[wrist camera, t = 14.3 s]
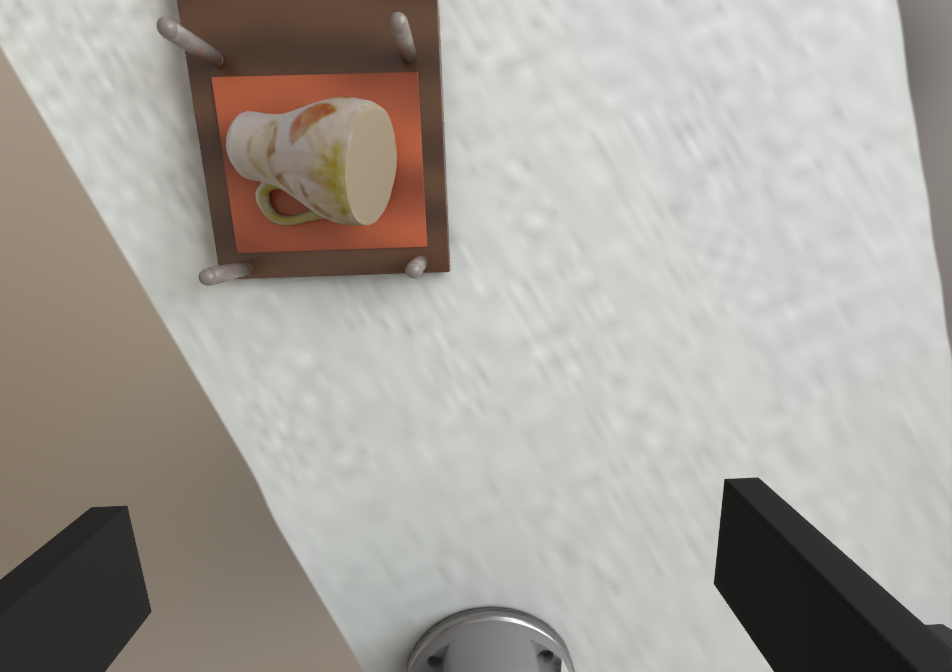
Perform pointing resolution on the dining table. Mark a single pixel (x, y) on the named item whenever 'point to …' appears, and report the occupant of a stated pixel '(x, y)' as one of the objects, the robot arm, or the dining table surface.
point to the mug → (319, 159)
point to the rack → (300, 84)
